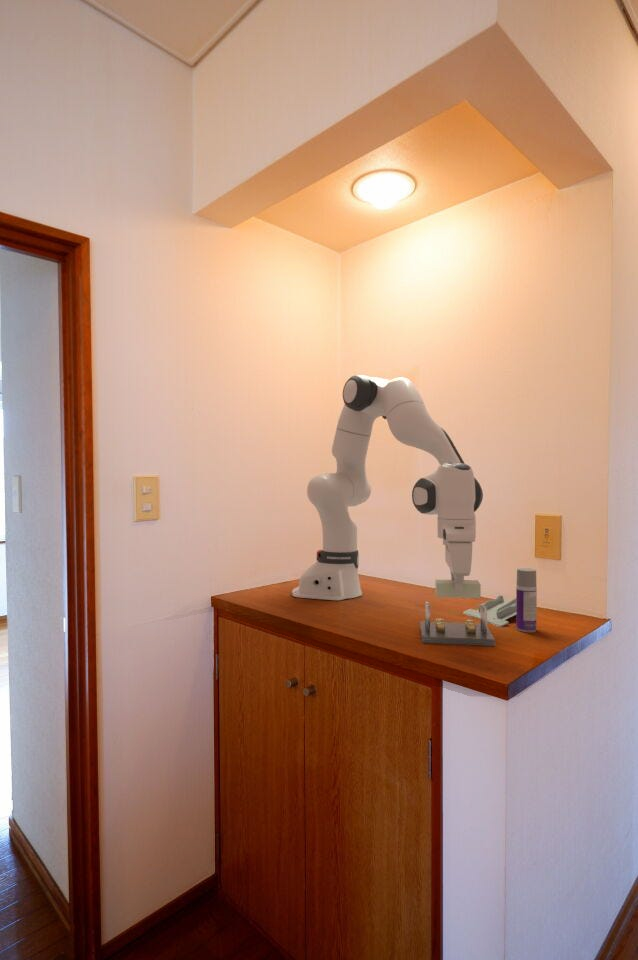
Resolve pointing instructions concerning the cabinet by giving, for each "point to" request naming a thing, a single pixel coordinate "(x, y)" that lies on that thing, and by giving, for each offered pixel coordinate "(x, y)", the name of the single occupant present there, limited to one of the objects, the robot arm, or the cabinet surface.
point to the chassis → (456, 630)
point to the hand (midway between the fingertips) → (456, 588)
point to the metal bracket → (496, 611)
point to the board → (469, 591)
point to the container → (526, 600)
